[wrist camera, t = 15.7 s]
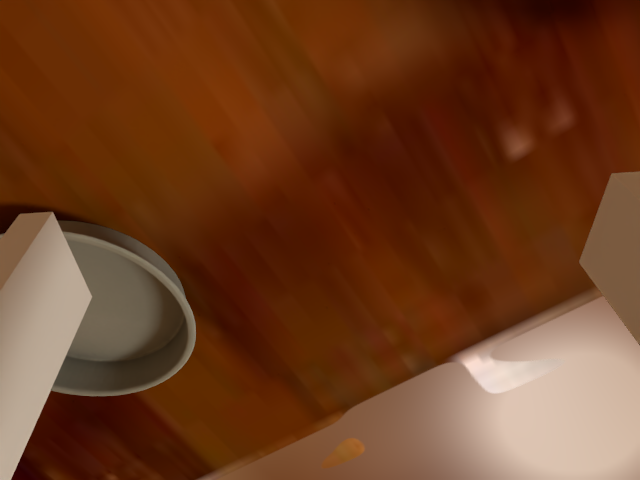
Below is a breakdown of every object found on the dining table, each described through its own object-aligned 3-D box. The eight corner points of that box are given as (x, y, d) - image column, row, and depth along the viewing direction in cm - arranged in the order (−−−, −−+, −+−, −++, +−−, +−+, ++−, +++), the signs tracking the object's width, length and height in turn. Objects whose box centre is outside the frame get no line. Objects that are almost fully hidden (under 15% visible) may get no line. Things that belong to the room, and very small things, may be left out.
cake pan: (140, 178, 46) (128, 204, 42) (232, 344, 61) (228, 374, 57) (-93, 237, 48) (-123, 267, 45) (50, 382, 63) (36, 413, 60)
